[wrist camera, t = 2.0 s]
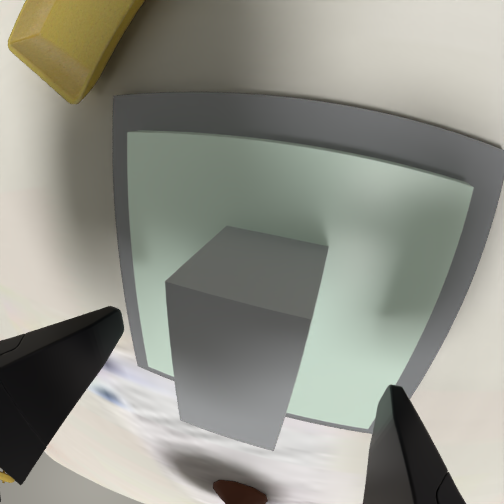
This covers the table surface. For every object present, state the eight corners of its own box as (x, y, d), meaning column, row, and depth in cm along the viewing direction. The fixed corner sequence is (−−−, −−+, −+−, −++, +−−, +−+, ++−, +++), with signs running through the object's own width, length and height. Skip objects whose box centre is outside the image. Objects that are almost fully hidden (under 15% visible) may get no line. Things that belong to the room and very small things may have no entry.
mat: (502, 150, 8) (508, 152, 7) (384, 428, 14) (384, 435, 14) (121, 95, 11) (113, 95, 11) (141, 361, 18) (137, 366, 17)
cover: (465, 182, 8) (535, 232, 4) (368, 417, 14) (359, 497, 9) (139, 130, 11) (43, 149, 7) (155, 357, 16) (107, 416, 12)
